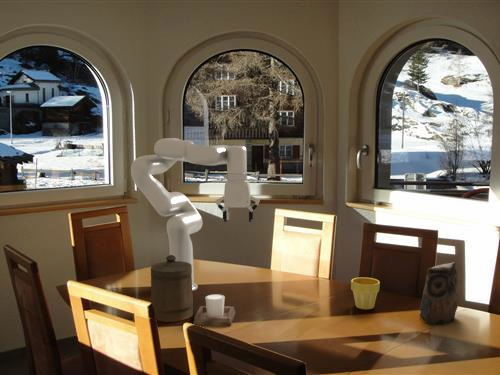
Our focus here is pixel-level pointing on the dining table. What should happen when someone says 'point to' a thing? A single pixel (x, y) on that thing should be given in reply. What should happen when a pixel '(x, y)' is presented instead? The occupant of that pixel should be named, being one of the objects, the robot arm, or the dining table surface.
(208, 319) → the square wooden tray
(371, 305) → the plant pot
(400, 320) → the dining table surface
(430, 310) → the owl
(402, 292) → the dining table surface
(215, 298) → the white cup
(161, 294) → the wooden container
